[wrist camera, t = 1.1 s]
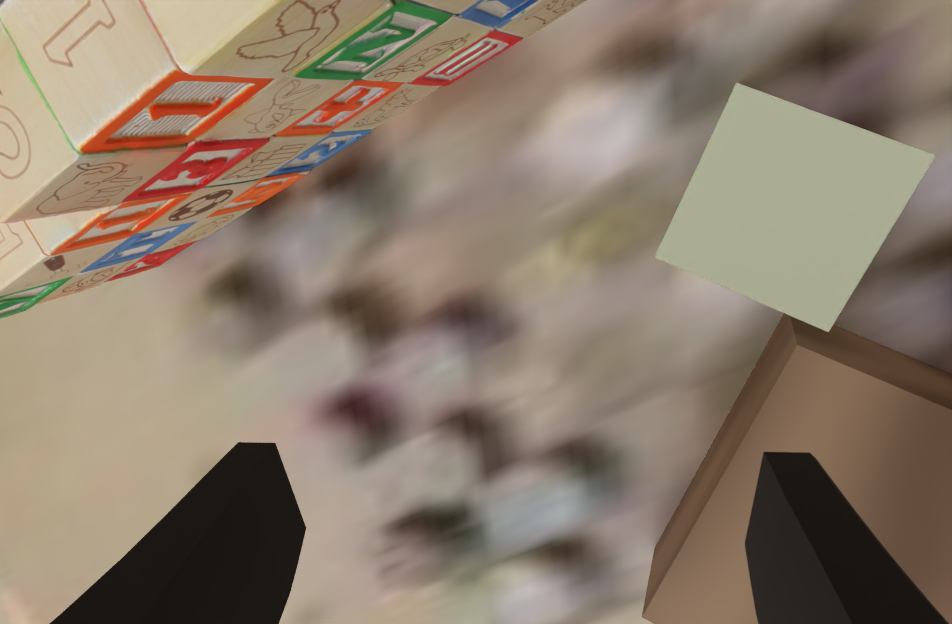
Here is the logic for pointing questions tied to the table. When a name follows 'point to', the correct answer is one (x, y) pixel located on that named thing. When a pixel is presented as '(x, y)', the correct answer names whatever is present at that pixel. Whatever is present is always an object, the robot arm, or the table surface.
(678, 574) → the walnut block
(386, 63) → the stack of blocks
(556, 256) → the table surface
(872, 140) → the sage cube
